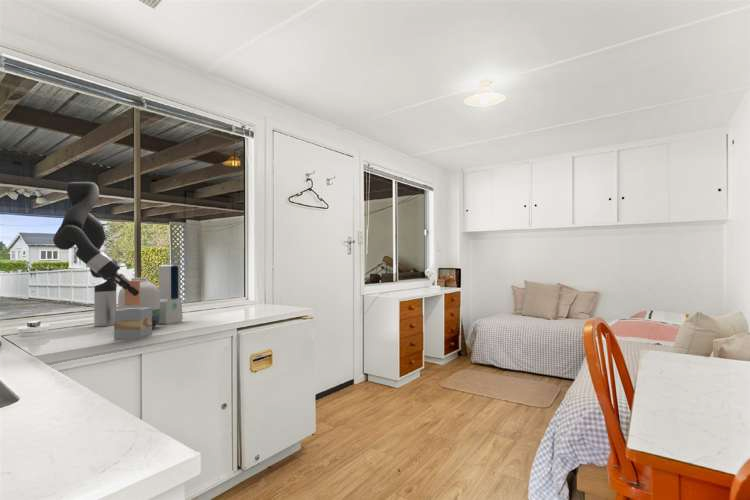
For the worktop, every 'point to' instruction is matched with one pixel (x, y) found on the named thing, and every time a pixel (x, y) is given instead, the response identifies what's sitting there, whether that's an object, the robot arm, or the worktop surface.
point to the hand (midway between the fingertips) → (137, 293)
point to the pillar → (129, 297)
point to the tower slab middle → (132, 324)
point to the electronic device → (169, 294)
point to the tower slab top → (133, 313)
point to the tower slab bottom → (132, 333)
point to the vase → (144, 299)
